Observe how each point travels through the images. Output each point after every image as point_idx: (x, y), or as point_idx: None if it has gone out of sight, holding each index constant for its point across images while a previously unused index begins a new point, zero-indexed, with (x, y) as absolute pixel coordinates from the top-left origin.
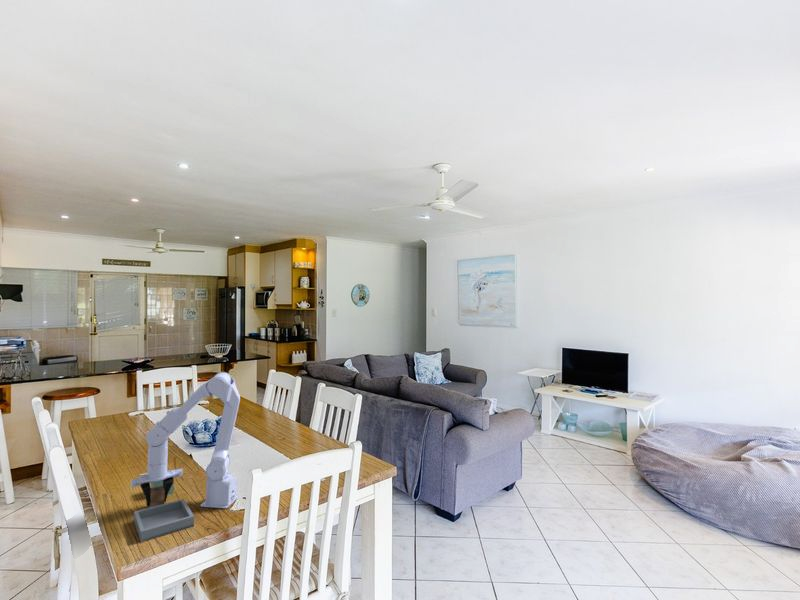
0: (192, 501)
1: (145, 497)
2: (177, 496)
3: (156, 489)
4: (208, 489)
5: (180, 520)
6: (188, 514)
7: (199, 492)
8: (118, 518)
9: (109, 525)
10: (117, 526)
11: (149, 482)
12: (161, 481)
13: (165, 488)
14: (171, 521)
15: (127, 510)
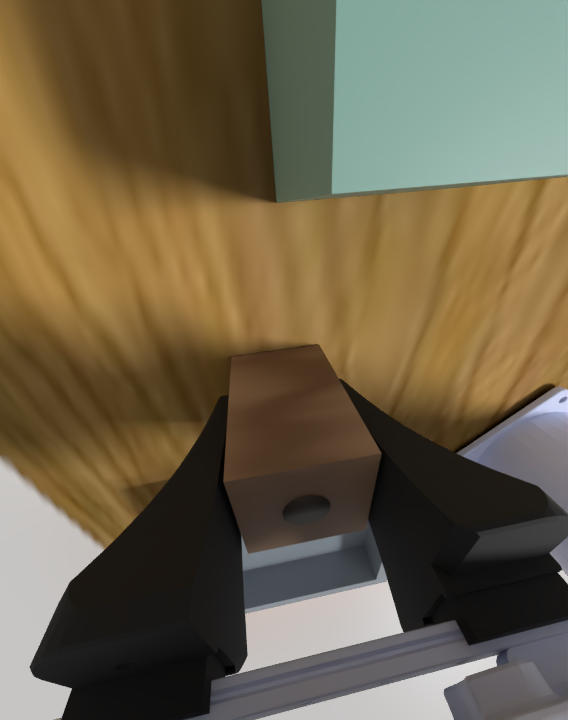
0: (457, 397)
1: (202, 432)
2: (435, 286)
3: (303, 518)
4: (550, 552)
5: (341, 590)
6: (377, 566)
7: (560, 297)
8: (64, 433)
9: (45, 481)
10: (99, 496)
11: (227, 698)
12: (443, 186)
13: (376, 541)
14: (315, 593)
15: (84, 351)
